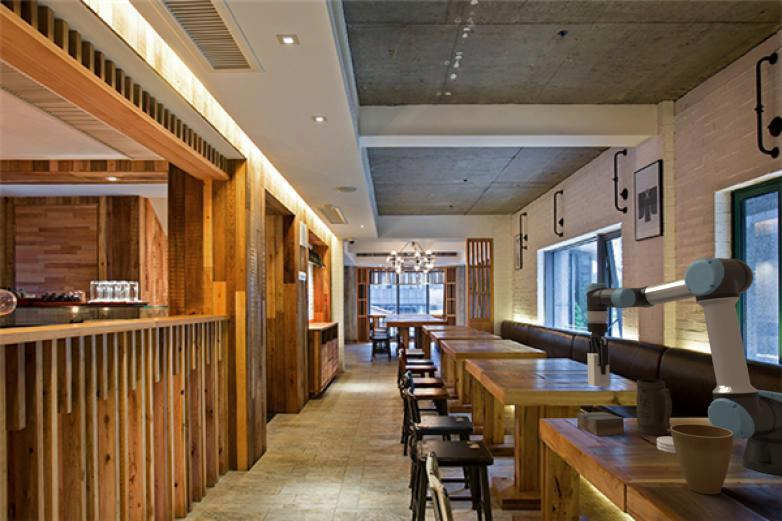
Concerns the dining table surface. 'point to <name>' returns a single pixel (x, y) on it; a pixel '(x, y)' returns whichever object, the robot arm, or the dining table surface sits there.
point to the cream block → (596, 371)
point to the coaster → (666, 444)
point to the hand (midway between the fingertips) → (598, 381)
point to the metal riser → (600, 423)
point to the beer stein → (653, 407)
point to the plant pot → (703, 455)
